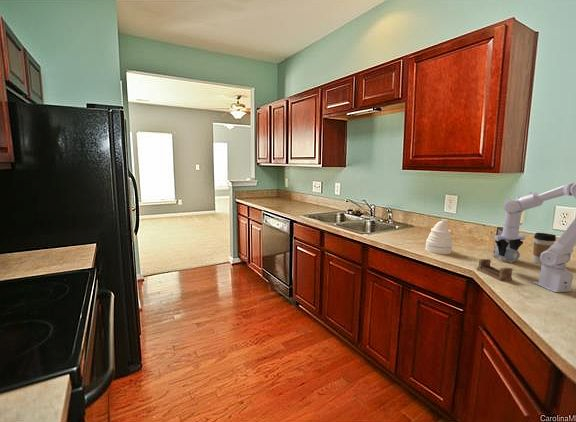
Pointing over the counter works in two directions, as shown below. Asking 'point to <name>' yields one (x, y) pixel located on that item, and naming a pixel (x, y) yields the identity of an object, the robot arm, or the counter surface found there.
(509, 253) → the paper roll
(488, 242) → the counter surface
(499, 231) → the coffee box
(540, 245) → the coffee cup
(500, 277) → the roll cradle
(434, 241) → the honey pot
